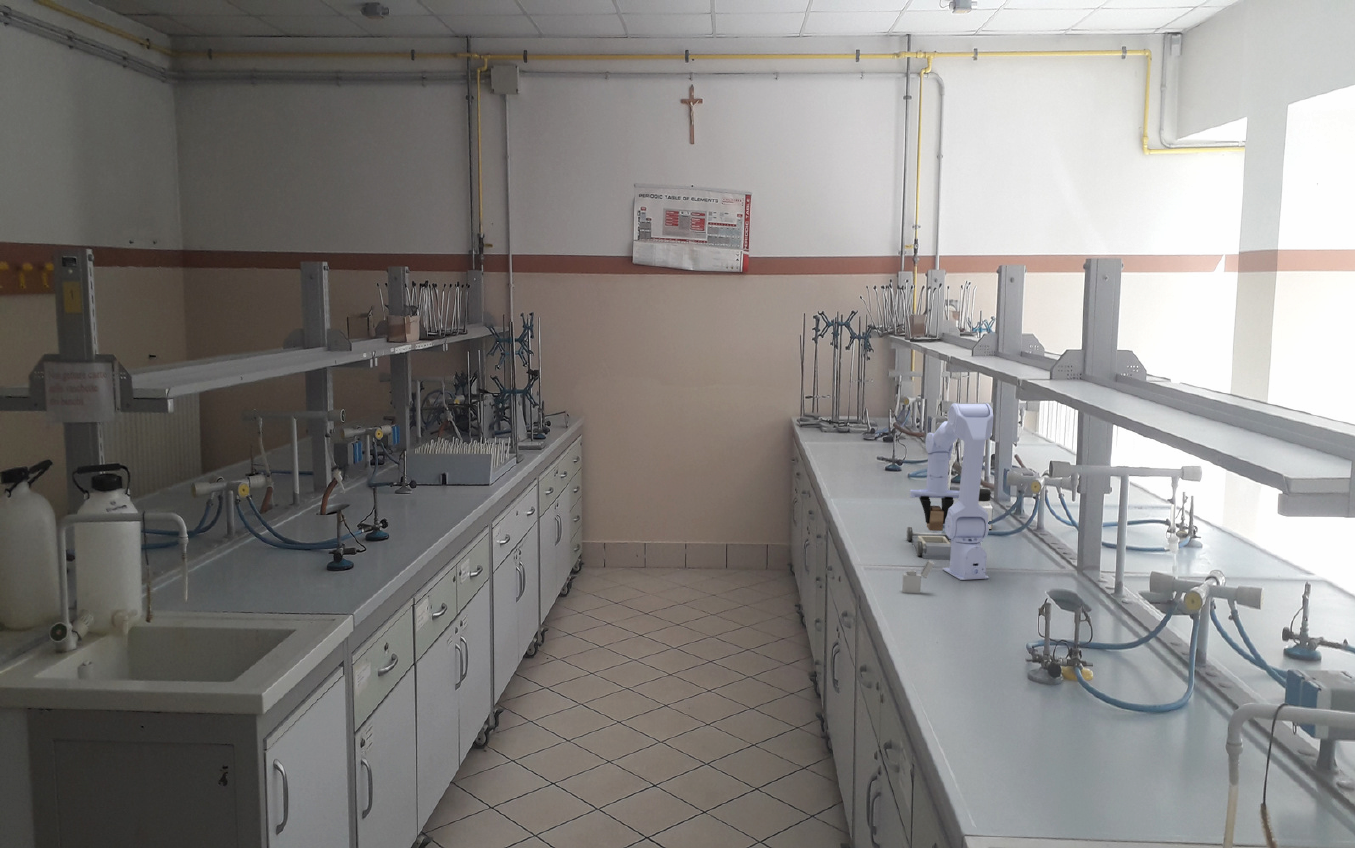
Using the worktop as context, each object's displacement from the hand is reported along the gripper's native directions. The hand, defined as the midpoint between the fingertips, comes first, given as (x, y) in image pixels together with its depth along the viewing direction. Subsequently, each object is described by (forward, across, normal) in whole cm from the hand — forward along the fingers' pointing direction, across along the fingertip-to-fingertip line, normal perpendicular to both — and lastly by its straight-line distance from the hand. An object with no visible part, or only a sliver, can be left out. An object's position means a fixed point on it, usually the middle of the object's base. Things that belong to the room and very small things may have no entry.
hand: (935, 522), depth 272 cm
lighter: (+8, +12, +41) cm, 43 cm away
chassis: (+7, 0, 0) cm, 7 cm away
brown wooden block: (+2, 0, 0) cm, 2 cm away
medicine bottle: (+8, -19, -28) cm, 34 cm away
